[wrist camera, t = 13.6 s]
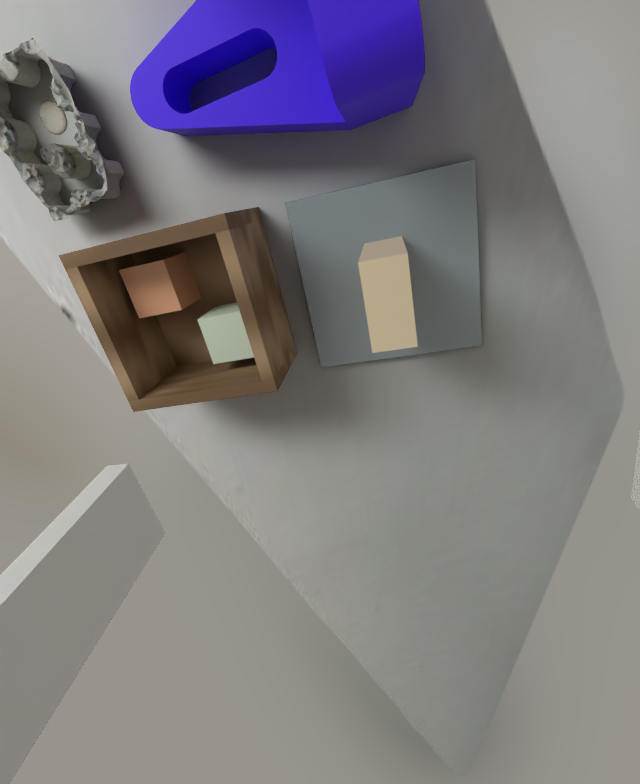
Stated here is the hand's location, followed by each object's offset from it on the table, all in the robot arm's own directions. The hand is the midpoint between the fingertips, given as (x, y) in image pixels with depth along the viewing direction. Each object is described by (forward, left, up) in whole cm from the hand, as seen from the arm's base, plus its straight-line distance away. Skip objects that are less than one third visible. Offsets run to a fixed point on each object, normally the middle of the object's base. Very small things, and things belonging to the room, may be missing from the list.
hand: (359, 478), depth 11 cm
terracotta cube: (-3, -17, -26) cm, 31 cm away
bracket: (-16, -5, -27) cm, 32 cm away
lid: (0, +1, -27) cm, 27 cm away
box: (-1, -15, -27) cm, 31 cm away
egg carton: (-16, -23, -27) cm, 39 cm away
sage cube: (+2, -12, -26) cm, 29 cm away
